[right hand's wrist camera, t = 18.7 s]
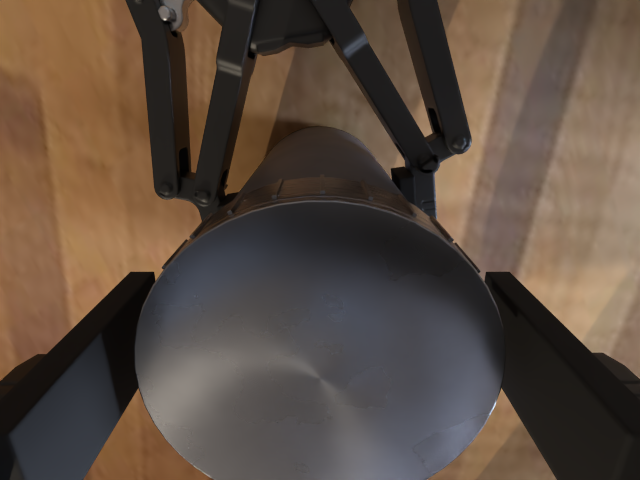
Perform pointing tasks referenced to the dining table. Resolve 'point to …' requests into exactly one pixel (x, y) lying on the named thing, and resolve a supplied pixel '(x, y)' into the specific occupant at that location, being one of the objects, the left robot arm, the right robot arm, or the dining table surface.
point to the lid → (319, 339)
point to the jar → (320, 160)
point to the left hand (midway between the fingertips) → (331, 291)
